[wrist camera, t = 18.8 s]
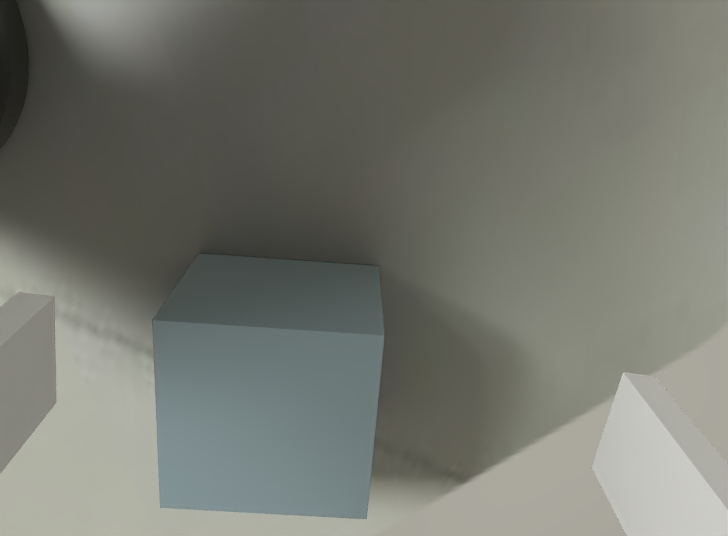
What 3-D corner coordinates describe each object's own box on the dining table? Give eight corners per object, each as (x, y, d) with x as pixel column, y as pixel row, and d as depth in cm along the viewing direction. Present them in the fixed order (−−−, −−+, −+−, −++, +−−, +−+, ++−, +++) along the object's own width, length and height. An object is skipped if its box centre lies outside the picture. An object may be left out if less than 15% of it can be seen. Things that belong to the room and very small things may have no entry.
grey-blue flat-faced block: (200, 408, 40) (160, 507, 32) (198, 253, 37) (152, 320, 28) (365, 418, 41) (366, 519, 32) (378, 265, 37) (384, 335, 29)
